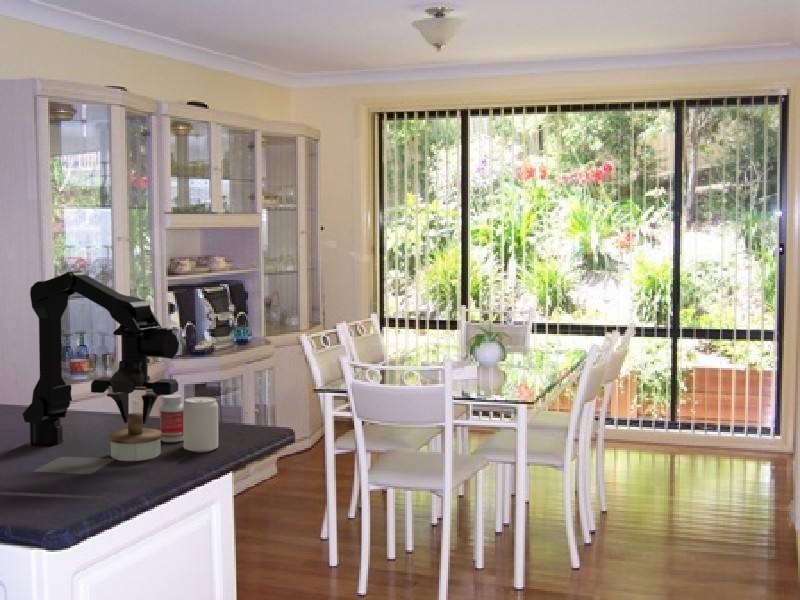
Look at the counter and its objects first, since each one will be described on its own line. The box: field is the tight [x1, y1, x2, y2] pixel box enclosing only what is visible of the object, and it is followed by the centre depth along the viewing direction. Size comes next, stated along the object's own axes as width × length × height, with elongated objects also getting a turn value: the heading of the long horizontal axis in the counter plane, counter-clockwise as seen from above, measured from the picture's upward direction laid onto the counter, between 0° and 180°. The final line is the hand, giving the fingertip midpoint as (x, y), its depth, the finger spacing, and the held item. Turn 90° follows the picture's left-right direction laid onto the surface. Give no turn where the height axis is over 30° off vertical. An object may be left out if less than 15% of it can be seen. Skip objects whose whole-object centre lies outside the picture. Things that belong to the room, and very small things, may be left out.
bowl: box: [110, 439, 161, 462], centre depth 214 cm, size 10×10×5 cm
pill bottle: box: [159, 394, 184, 443], centre depth 232 cm, size 6×6×11 cm
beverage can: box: [183, 396, 219, 453], centre depth 222 cm, size 8×8×12 cm
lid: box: [108, 412, 162, 444], centre depth 214 cm, size 12×12×6 cm
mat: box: [31, 456, 116, 475], centre depth 205 cm, size 13×13×1 cm
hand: (135, 423), depth 214 cm, fingers open, 4 cm apart
